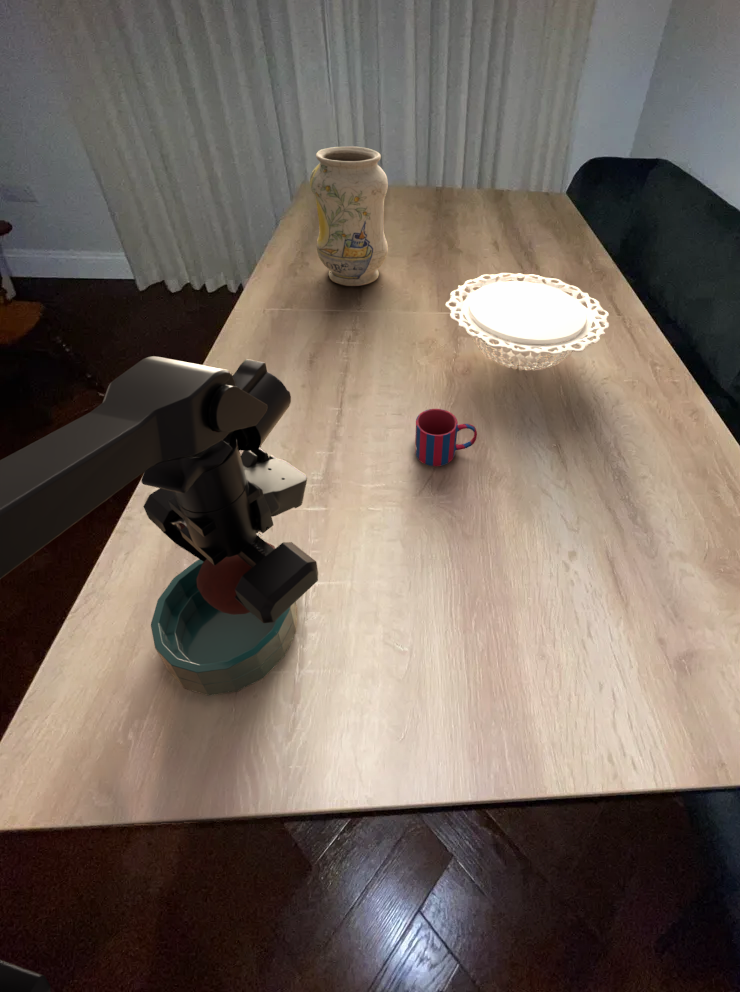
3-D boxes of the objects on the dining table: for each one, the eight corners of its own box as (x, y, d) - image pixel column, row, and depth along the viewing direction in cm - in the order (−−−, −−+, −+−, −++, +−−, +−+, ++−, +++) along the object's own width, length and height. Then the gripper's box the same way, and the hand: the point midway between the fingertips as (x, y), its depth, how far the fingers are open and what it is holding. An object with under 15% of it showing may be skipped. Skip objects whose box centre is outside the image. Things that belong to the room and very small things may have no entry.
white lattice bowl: (413, 348, 113) (414, 295, 105) (518, 309, 129) (526, 260, 121) (518, 432, 94) (529, 375, 86) (626, 373, 110) (643, 320, 102)
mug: (418, 436, 91) (419, 406, 87) (475, 442, 91) (479, 413, 87) (412, 464, 86) (412, 433, 82) (473, 471, 86) (477, 440, 81)
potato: (210, 568, 58) (196, 528, 54) (290, 560, 60) (281, 521, 55) (197, 632, 53) (179, 594, 48) (284, 622, 54) (275, 583, 50)
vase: (323, 259, 144) (312, 140, 126) (389, 261, 146) (388, 144, 127) (314, 290, 130) (300, 162, 112) (387, 292, 132) (386, 166, 113)
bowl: (219, 726, 55) (206, 702, 51) (140, 642, 61) (124, 615, 58) (322, 620, 65) (318, 593, 61) (245, 556, 71) (237, 528, 67)
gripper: (356, 484, 47) (363, 583, 56) (226, 398, 55) (251, 497, 65) (251, 571, 40) (279, 667, 49) (118, 457, 48) (165, 559, 57)
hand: (244, 587), depth 55 cm, fingers closed on potato, 8 cm apart
